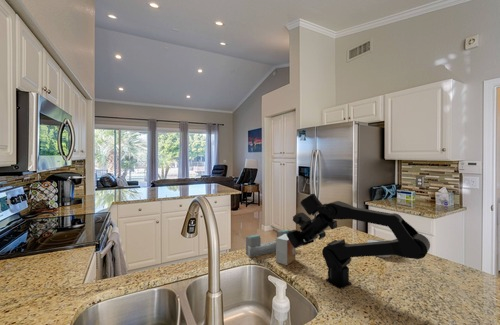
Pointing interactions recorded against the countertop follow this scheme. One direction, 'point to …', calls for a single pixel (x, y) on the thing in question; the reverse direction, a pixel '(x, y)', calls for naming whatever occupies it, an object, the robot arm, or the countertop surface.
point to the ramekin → (378, 241)
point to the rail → (262, 249)
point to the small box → (284, 250)
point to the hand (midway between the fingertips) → (295, 245)
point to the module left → (252, 241)
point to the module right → (282, 232)
